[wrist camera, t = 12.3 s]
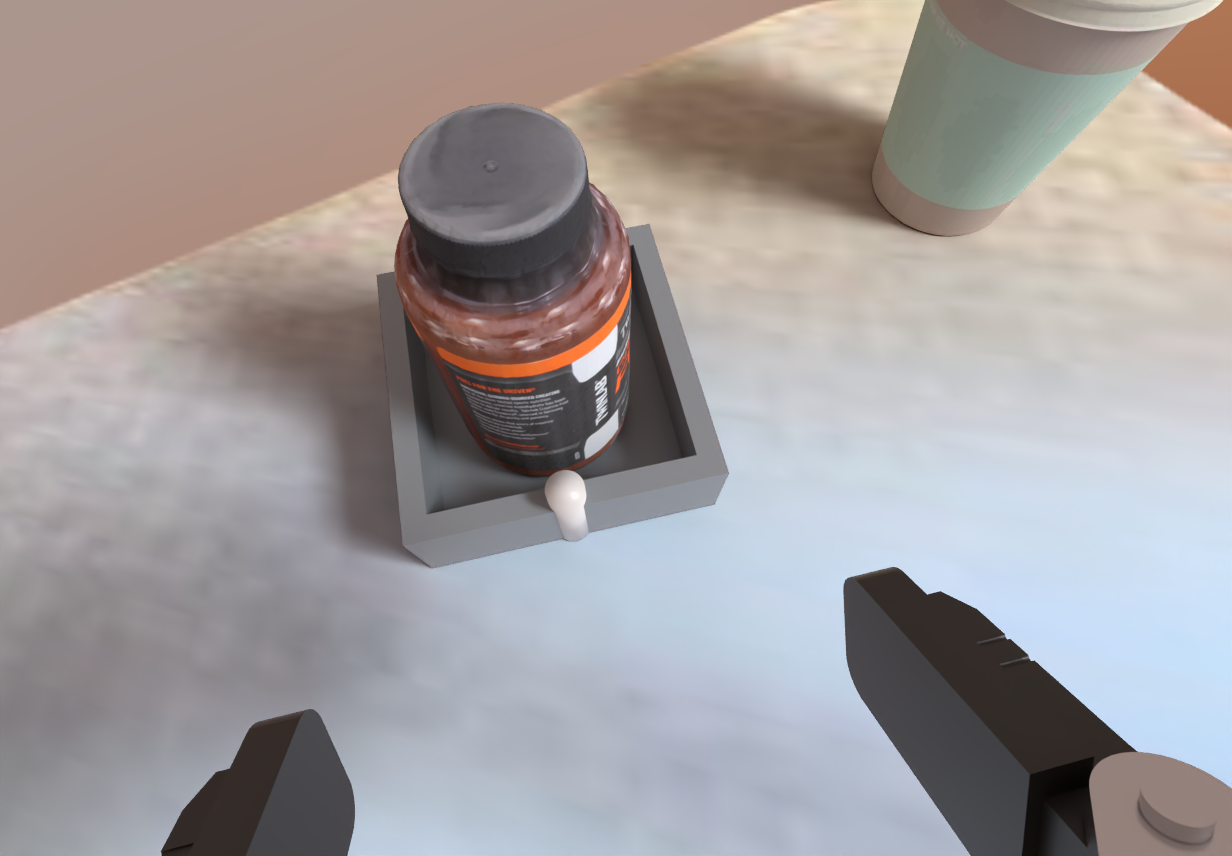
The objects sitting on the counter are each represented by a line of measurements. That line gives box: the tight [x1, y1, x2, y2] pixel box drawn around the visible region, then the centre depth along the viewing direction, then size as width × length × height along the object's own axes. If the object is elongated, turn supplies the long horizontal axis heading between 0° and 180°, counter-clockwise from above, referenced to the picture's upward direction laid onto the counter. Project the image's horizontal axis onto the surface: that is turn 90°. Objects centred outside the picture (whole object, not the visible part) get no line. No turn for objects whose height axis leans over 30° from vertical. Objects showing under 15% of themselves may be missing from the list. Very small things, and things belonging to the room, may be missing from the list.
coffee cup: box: [872, 0, 1223, 236], centre depth 23 cm, size 9×9×12 cm
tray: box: [377, 224, 729, 568], centre depth 23 cm, size 10×10×4 cm
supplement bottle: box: [394, 103, 632, 476], centre depth 18 cm, size 6×6×11 cm
